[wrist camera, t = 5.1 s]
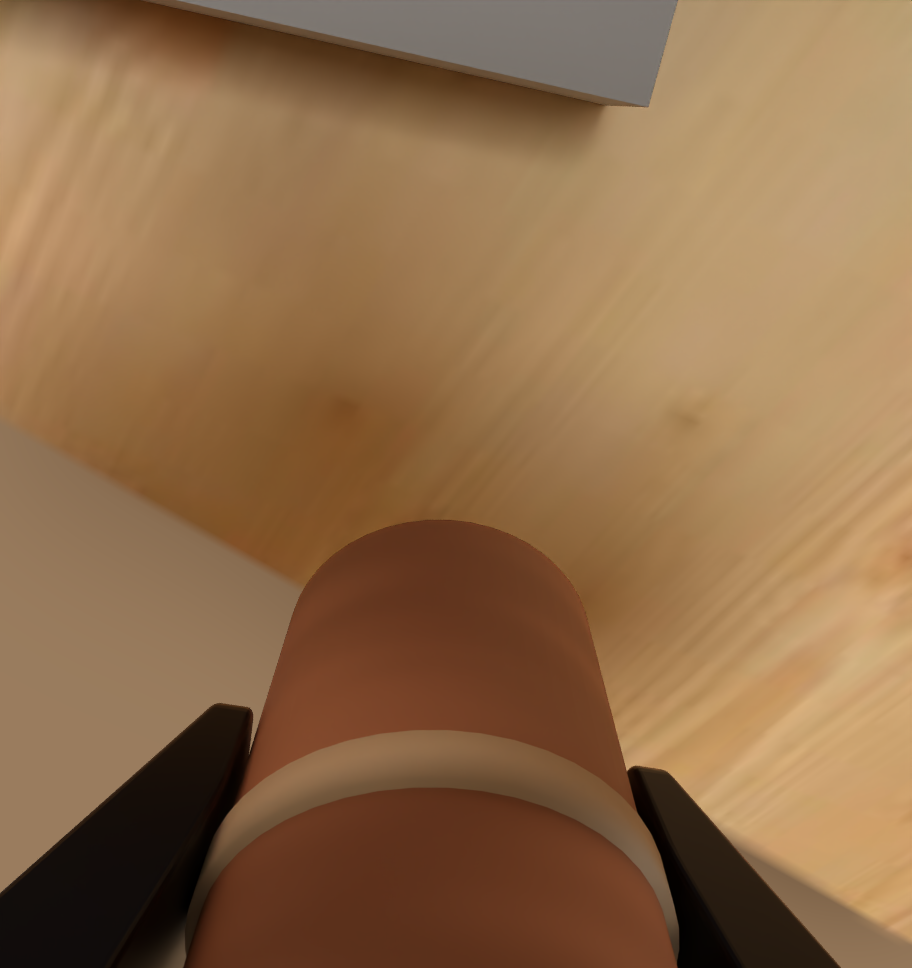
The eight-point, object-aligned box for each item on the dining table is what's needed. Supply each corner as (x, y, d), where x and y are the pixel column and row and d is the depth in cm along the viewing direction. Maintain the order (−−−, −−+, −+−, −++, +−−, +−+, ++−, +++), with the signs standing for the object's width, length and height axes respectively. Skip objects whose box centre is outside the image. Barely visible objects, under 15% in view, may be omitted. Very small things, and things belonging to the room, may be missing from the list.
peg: (636, 545, 10) (1114, 1691, 3) (553, 789, 12) (712, 1875, 5) (300, 485, 10) (-151, 1629, 2) (266, 746, 11) (-53, 1856, 4)
